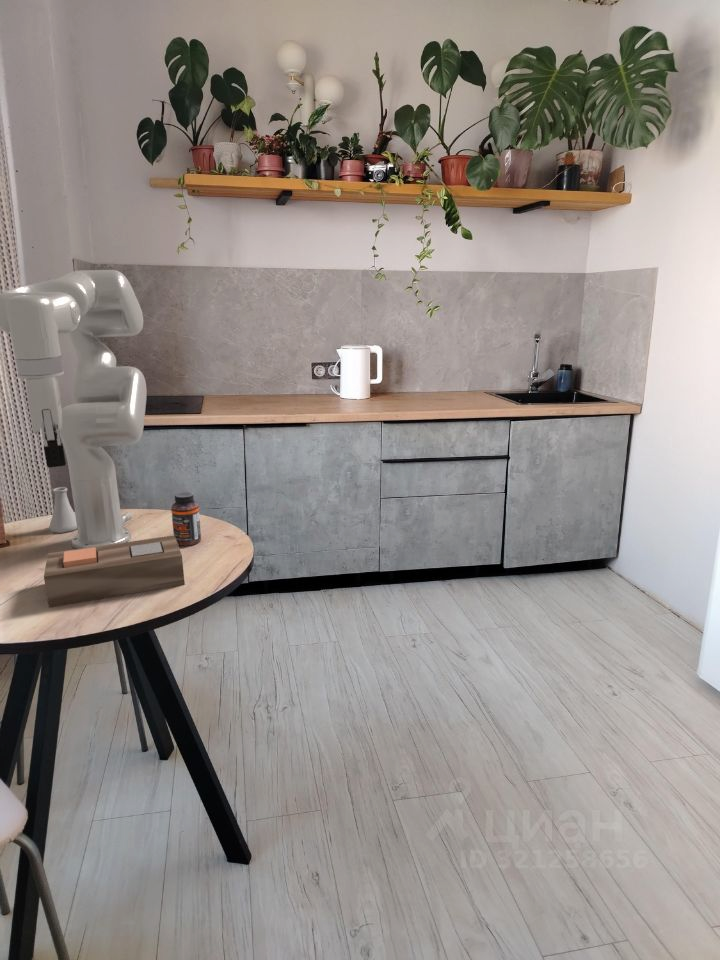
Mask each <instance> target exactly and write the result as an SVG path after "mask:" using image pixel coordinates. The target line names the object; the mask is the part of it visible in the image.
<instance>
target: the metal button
mask: <svg viewBox="0 0 720 960" xmlns="http://www.w3.org/2000/svg"><path fill="white" fill-rule="evenodd" d="M131 553H132V557H139V556H145V555H152V554H159V553H163V551H162V547H161V544H160V542H157V543H150V544H143V545H136V546H131Z"/></svg>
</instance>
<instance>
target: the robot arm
mask: <svg viewBox="0 0 720 960" xmlns="http://www.w3.org/2000/svg"><path fill="white" fill-rule="evenodd" d="M143 315H144V314H143V310H142V308H141V305H140V303H139V300H138V298H137V297H136V293H135V291H134V289H133V287H132V285H131V283H130V281H129V280H128V278H127V277H126V276H125V275H124V274H123V272H120V271H119V270H115V269H96V270H95V269H91V270H90V269H86V270H85V269H83V270H81V269H80V270H73V271H70V272H68V273H66V274H64V275H62V276H61V277H58V278H55V279H50V280H43V281H41V282H36V283H32V284H31V283H30V284H26V285H20V286H17V287H16V286H15V287H12V288H9V289H7V290H4V291H2V292H1V293H0V329H1V331H3V332H4V333H6V334H9V335H10V339H11V344H12V350H13V356H14V361H15V367H16V372H17V377H18V379H23V380H25V381H24V382H25V391H26V398H27V404H28V411H29V415H30V416H29V417H30V422H31V429H32V433H33V434H35V435H38V433H39V432H41V434H42V438H43V443H44V444H43V451H44V457H45V462H46V467H47V468H49V469H50V468H57V467H58V468H59V467H65V466H66V464H67V467H68V474H69V480H70V482H69V483H70V486H71V495H72V500H73V509H74V513H75V516H76V523H77V529H76V531H77V534H76V535H74V537H72V538H71V546H72V547H73V548H75V549H82V548H89V547H96V546H103V545H110V544H117V543H124V542H129V540H130V539H131V536H132V535H131V534H132V533H131V531H130V530H129V529H127V528H126V527H125V526H124V525H125V524H126V523H127V522H129V521H130V520H131V519H132V518H133V517H132V514H131V513H130V512H124V513H123V514H122V512H121V505H120V496H119V488H118V487H119V486H118V481H117V474H116V473H117V472H116V466H115V462H114V461H113V460H114V459H112V457H111V456H110V455H109V454H108V453H107V451H106V450H105V449H104V448H103V447H109V446H110V447H111V446H112V447H113V446H129V445H135V444H137V443H138V442H140V440H141V439H142V436H143V435H144V434H143V433H144V426H145V416H146V405H147V382H146V379H145V376H144V373H143V372H142V371H141V370H140V369H139V368H137V367H134V366H129V365H128V366H126V365H125V366H121V365H120V366H117V357H116V355H115V354H114V353H113V352H112V351H113V350H111V349H110V348H109V347H108V346H107V345H106V344H105V343H104V342H102V341H101V340H100V339H98V338H109V337H113V338H115V337H132V336H133V337H134V336H137V335H138V334H140V332H142V330H143V327H144V316H143ZM60 334H62V335H63V334H69V337H70V341H71V343H72V346H73V348H74V352H75V353H76V357H77V360H76V363H75V364H76V365H75V369H74V370H75V371H74V376H73V381H72V388H71V395H72V400H73V402H74V403H71V404H69V405H67V406H64V407H62V400H61V391H60V385H59V380H58V377H60V376H62V375H65V372H64V371H65V370H64V365H63V358H62V350H61V346H60V340H59V339H60V338H59V335H60ZM66 460H67V463H66Z"/></svg>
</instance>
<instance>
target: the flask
mask: <svg viewBox="0 0 720 960" xmlns="http://www.w3.org/2000/svg"><path fill="white" fill-rule="evenodd" d="M52 492H53V494H54V506H53V510H52V516H51V519H50V523H49V527H48V530H49V531H50V532H51V533H56V534H57V533H58V534H61V533H66V532H73V531H77V523H76V516H75V510H73V509H74V508H72V506H71V504H70V501H69V498H68V495H67V494H68V493H67V492H68V488H67V487H66V486H65V487H64V486H61V487H55V488H52Z"/></svg>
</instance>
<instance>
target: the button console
mask: <svg viewBox="0 0 720 960" xmlns="http://www.w3.org/2000/svg"><path fill="white" fill-rule="evenodd" d="M157 542H160V544H161V547H162V551H163V553H159V554H152V555H145V556H139V557H132V553H131V546H136V545H143V544H150V543H157ZM179 546H180V545H178V543H177V541H176V538H175V535H174V534H173V535H168V536H167V535H166V536H159V537H154V538H153V537H152V538H147V539H146V538H145V539H140V540H139V539H138V540H133V541H127V542H124V543H117V544H110V545H103V546H96V554H97V562H98V563H93V564H86V565H79V566H73V567H66V568H64V564H63V559H64V552H66V551H73V550H80V549H77V548H75V549H70V550H62V551H56V552H48V553H47V555H46V561H45V568H44V574H43V580H44V586H45V593H46V599H47V604H48V608H53V607H59V606H65V605H71V604H78V603H83V602H88V601H89V602H90V601H95V600H102V599H106V598H107V599H108V598H113V597H118V596H125V595H130V594H135V593H142V592H147V591H153V590H154V591H155V590H160V589H165V588H171V587H172V588H173V587H177V586H183V585H186V584H185V582H186V581H185V574H184V563H183V555H182V552H181V549H180V547H179ZM89 548H94V547H89ZM82 549H87V548H82Z"/></svg>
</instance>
